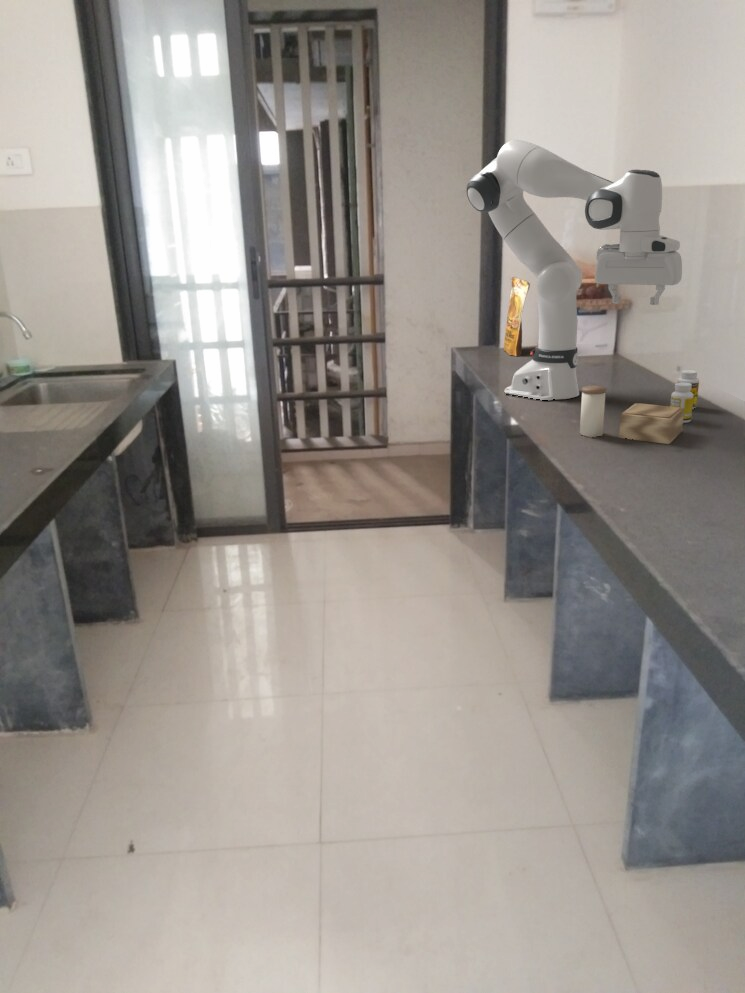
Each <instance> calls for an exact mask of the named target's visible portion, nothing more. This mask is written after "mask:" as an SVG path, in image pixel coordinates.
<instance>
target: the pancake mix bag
mask: <svg viewBox="0 0 745 993" xmlns="http://www.w3.org/2000/svg"><path fill="white" fill-rule="evenodd" d="M530 286H531V283H529V281H528V280H525V279H522V278H520V277H516V276H513V277H510V295H509V306H508V312H507V317H506V326H505V335H504V342H503V350H505V351H506V352H507V353H508V354H509V356H510V355H513V356H512V357H520V356H521V355H522V348H523V327H522V326H523V325H522V324H523V323H522V315H523V312H524V307H525V303H526V298H527V295H528V292H529V290H530ZM505 351H504V352H505ZM506 352H505V353H506ZM507 353H506V354H507ZM519 355H520V356H519Z"/></svg>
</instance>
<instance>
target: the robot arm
mask: <svg viewBox="0 0 745 993" xmlns="http://www.w3.org/2000/svg"><path fill="white" fill-rule="evenodd" d="M662 183H663V182H662V178H661V176H660V174H659V173H658V172H656V171H654V170H648V169H647V170H646V169H631V170H628V171H627V172H626V173H625V174H624V175H623V176H622V177H620V178H619V179H618V180H616V181H611V180H609V179H607V178H604V177H601V176H599V175H596V174H594V173H592V172H590V171H587V170H586V169H583V168H581V167H579V166H578V165H576V164H573V163H571V162H570V161H568V160H566V159H565V158H563V157H561V156H559V155H557V154H556V153H553V152H552V151H550V150H548V149H546V148H544V147H542V146H540V145H537V144H534V143H532V142H528V141H526V140H525V141H524V140H519V139H512V140H509V141H507V142H506V143H504V144H503V145H502V146H501V147H500V149H499V151H498V152H497V156H496V158H494V159H493V160H491V161H490V163H488V164H487V165H486V166H485V167H484V168H482V169H481V171H479V172H478V173H476V174H474V175H473V176H472V178H470V180H469V181H468V183H467V185H466V197H467V199H468V201H469V203H470V205H471V206H472V208H474V209H475V210H476V211H477V212H480V213H483V214H487V213H488V216H489V217H490V219H491V222H492V224H493V225H494V227H495V228H496V230H497V232H498V233H499V235H500V236H501V238H502V240H504V242H505V244H506V245H507V246H508V247H509V248H510V250H511V251H512V253H514V255H515V256H516V259H518V260H519V262H520V263H522V264H523V265H524V267H526V268H527V269H528V270H529V271H530V272H531V273H532V274H533V275H534V277H536V278H537V280H536V293H537V296H536V297H537V310H538V311H537V312H538V342H537V343H538V346H536V347H535V348H533V349H532V350H531V351H530V354H529V355H530V356H532V358H531V360H529V361H528V362H527V363H525V364H523V365H522V366H521V367H520V368H519V369H517V370H516V371H515V372H514V374H513V377H512V380H511V385H509V386H507V387H505V388H504V392H505V393H509V394H514V395H518V396H523V397H522V398H524V397H528V398H527V399H530V398H533V399H532V400H536V399H540V400H539V401H542V400H548V401H553V399H555V400H567V399H571V398H572V399H573V398H575V397H578V396H580V390H579V386H578V379H577V366H578V359H579V356H578V355H579V354H578V350H579V349H578V347H577V338H578V324H579V323H578V310H577V304H578V302H577V294H578V293H577V292H578V290H579V289H580V288H581V285H582V284H583V272H582V269H581V267H580V265H578V263H577V262H576V261H575V260H574V259H573V258H572V256H571V255H570V254H569V253H568V252H567V250H566V249H564V247H563V246H562V245H561V243H559V241H557V239H555V238H554V237H553V235H552V234H551V232H550V231H549V230H548V229H547V228H546V226H545V225H544V223H543V222H542V221H541V219H540V218H539V217H538V215H537V214H536V213H535V212H534V210H533V209H532V208H531V207H530V206H529V204H528V203H527V201H526V200H525V197H524V192H525V193H528V194H530V195H532V196H536V197H540V198H545V199H546V198H547V199H548V198H550V199H551V198H554V199H555V198H570V199H571V198H574V199H580V200H585V201H586V202H585V206H584V214H585V220H586V221H587V223H588V225H589V226H590V227H592V228H593V229H595V230H600V231H601V230H602V231H606V230H619V243H616V244H615V243H613V244H606V243H605V244H603V245H602V246H600V247H598V249H597V251H596V261H597V262H596V265H595V271H594V280H595V282H596V284H598V285H608V287H607V288H608V291H609V293H610V295H611V296H612V301H611V302H612V304H621V303H622V302H621V301H622V300H621V299H622V295H619V294H618V292H617V290H616V289H618V285H631V286H633V285H635V286H636V285H637V286H639V285H640V286H641V285H643V286H655V290H656V292H655V295H653V296H651V297H649V298H650V299H649V300H650V302H649V304H650V306H651V305H653V306H655V305H656V306H657V305H659V304H660V297H661V296H662V295H663V293H664V291H665V289H666V286H675V285H678V284H679V283H680V282H681V281H682V278H683V275H682V274H683V259H682V256H681V254H680V252H678V250H680V248H681V247H680V246H681V243H680V241H678V240H676V239H673V238H669V237H667V236H664V235H661V226H660V215H661V212H662V205H663V204H662V203H663V184H662ZM504 392H503V393H504ZM518 396H517V397H518Z"/></svg>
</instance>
